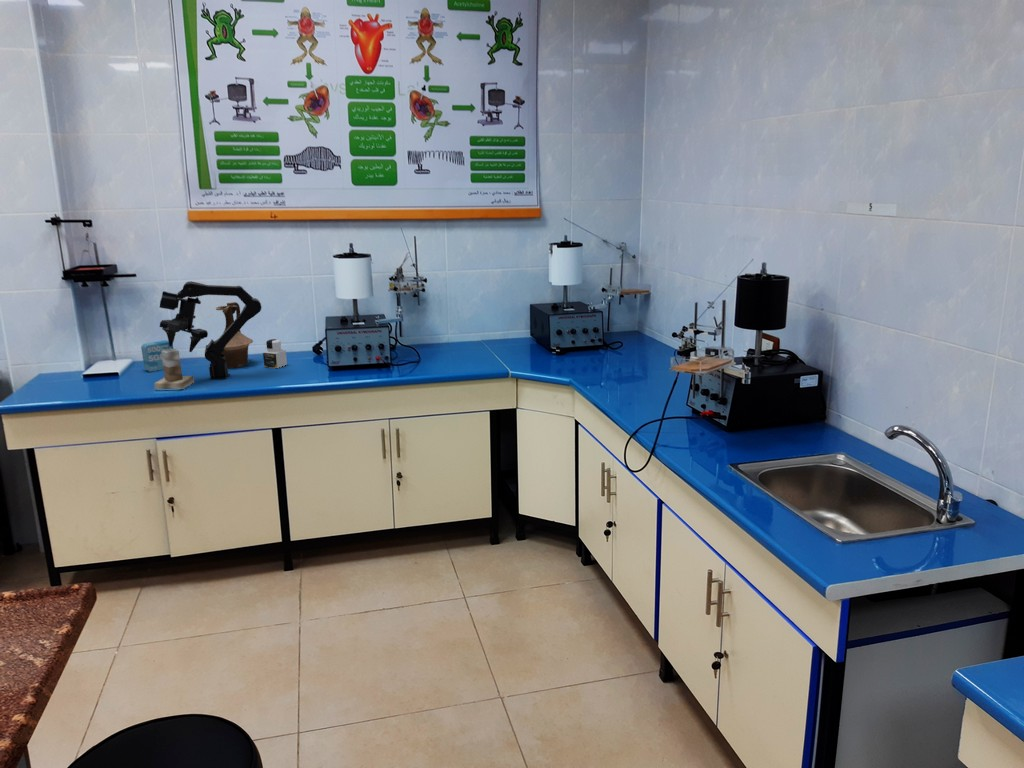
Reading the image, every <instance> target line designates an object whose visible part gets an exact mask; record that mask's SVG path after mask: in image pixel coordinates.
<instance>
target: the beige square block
mask: <svg viewBox="0 0 1024 768" xmlns="http://www.w3.org/2000/svg"><path fill="white" fill-rule="evenodd" d="M182 378H183V380H178V381H173V382H169V381H167V380H165V376H163V378H161V379H159V380H157V381H156V382H154V383H153V385H154V391H155V390H156V389H184V388H185V387H187V386H189V385H190V384H192V383H193V384H194V383H195V379H194V375H182ZM193 384H192V385H193ZM190 386H191V385H190ZM190 386H189V387H190ZM187 388H188V387H187ZM184 390H185V389H184Z"/></svg>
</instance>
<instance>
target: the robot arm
mask: <svg viewBox="0 0 1024 768" xmlns="http://www.w3.org/2000/svg"><path fill="white" fill-rule="evenodd" d="M202 296H225V297H226V296H227V297H228V296H229V297H231V296H232V297H238V299H239V300H241V302H242V303H243V304H244V306H243V308H242V310H241V311H240V315H239V316H238V317H237V318H234V322H233V323H232V324H231V325H230V326H229V327H228V329H227V330H226V331H225V332H224V331H223V332H222V334H221V335H220V336H219V337H218V338H217V339H216V340H214V339H210V342H209V343H208V344H206V345H205V347H204V348H205V350H204V358H205V359H206V360H207V361H208V362H209V367H208V371H209V379H210V380H225V379H227V378H228V377H229V376H231V373H229V368H228V366H227V362H225V355H224V354H222V352H223V350H224V348H225V346H226V345H227V343H228V342H229V341H230V340H231V339H232V338H233V337H234V336H235V334H236V333H237V332H238V331H239V330H240V331H241V329H242V328H243V327H244V325H245V324H246V323H247V322H248V321H249V320H251V319H252V318H254V317H255V316H256V315H258V314H259V313H260V312H261V311H262V303H261V302H260V300H259V299H257V298H255V297H253V296H252V295H251V294H249V293H248V292H247V291H246V290H245V289H244V287H242V286H241V285H219V284H218V285H217V284H216V285H215V284H205V283H201V282H197V281H192V280H191V281H189V280H188V281H187V282H185V283H184V284H183V286H182V288H181V290H179V291H178V292H177V293H173V292H168V291H164V290H163V291H162V294H161V298H160V301H159V308H160V309H165V310H171V311H175V310H176V309H179V311H178V313H176V314H175V318H172V319H163V320H161V321H160V322H159V328H161V329H162V330H163V331H164V332H165V333H166V336H167V341H169V346H172V345H173V346H174V342H175V336H176V334H177V333H179V332H180V331H182V332H185V333H189V334H191V335H190V336H189V337H190V344H189V350H188V351H189V353H192V352H193V350H194V349H195V348H196V346H197V345H198V343H200V342H201V340H202V339H204V340H205V338H208V335H209V333H208V331H207V330H206V329H202V328H194V327H195V325H194V324H193V322H194V319H196V315H195V310H196V305H201V303H202V301H201V300H200V299H199V297H202ZM179 302H180V304H179ZM226 377H227V378H226Z"/></svg>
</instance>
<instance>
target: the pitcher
mask: <svg viewBox="0 0 1024 768" xmlns="http://www.w3.org/2000/svg"><path fill="white" fill-rule="evenodd" d="M215 310H216V311H221V312H222V313H223V315H224V318H225V328H224V331H223V333H224V332H225V331H226V330H227V329H228V327H229V326H230V325H231V324H232V323H233V322H234V321H235V319H236V318H237V317H238V316H239V315H240V314H241V307H240V304H239V303H238V302H227V303H226V305H223V306H222V305H220V306H217V307H216V308H215ZM234 314H235V315H236V318H234ZM253 342H254V340H253V339H252V338H250V337H248V336H247V335H245V334H243V333H242V332H241V329H240V330H239V331H238V332H237V333H236V334H235V336H234V337H233V338H232V339H231V340H230V341H229V342H228V343H227V345H226V346H225V348H224V350H223V352H222V354H224V355H225V362H227V366H228V369H231V368H232V369H234V367H236V368H241V367H246V366H247V365H248V364H249V345H250V344H252V343H253Z"/></svg>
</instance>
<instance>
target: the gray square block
mask: <svg viewBox="0 0 1024 768" xmlns="http://www.w3.org/2000/svg"><path fill="white" fill-rule="evenodd" d="M161 354H162V361H163V368H164V370H163V375H164V377H165V380H167V381H169V382H173V381H178V380H183V378H182V376H183V372H182V366H181V356H180V351H179V350H178V349H175V348H173V349H169V350H163V351H161Z"/></svg>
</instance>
